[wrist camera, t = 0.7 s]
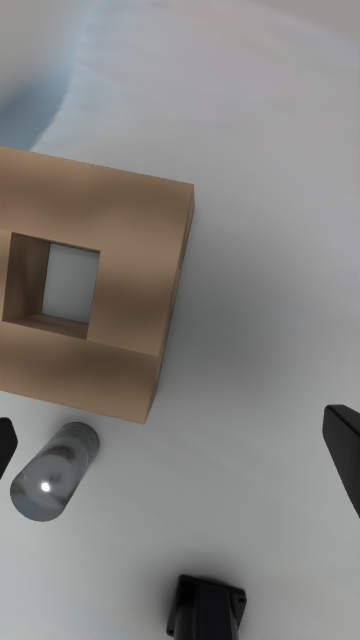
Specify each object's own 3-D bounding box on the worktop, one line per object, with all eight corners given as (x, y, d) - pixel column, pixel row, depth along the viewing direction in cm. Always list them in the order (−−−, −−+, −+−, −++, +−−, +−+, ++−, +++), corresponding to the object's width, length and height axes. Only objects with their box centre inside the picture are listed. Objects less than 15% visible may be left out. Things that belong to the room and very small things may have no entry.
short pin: (95, 467, 24) (62, 527, 18) (54, 456, 24) (7, 513, 18) (102, 427, 23) (70, 476, 17) (60, 417, 23) (13, 462, 18)
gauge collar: (154, 396, 23) (144, 424, 18) (-21, 356, 23) (-72, 373, 19) (194, 206, 20) (193, 184, 16) (-2, 166, 21) (-56, 134, 16)
